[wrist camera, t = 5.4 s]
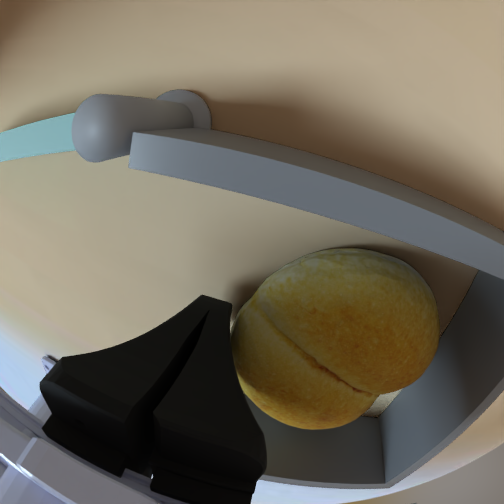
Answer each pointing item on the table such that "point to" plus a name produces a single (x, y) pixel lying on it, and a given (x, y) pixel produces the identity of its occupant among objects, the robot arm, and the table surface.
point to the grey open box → (383, 222)
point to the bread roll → (334, 336)
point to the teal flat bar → (95, 128)
